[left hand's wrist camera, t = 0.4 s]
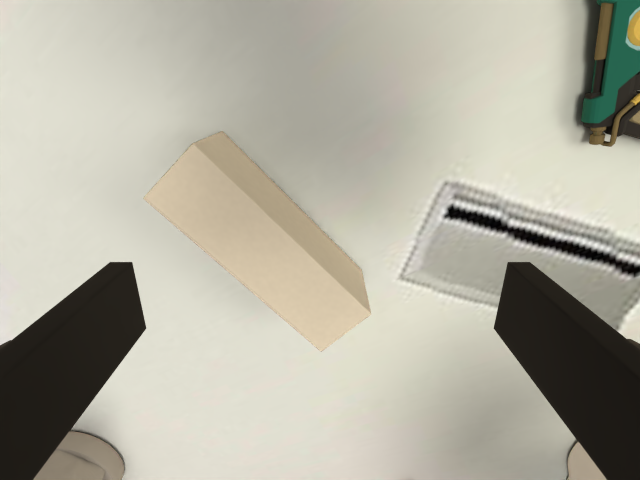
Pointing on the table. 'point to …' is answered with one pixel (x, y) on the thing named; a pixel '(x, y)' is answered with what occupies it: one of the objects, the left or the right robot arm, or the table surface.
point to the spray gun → (615, 74)
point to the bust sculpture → (82, 460)
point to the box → (262, 239)
